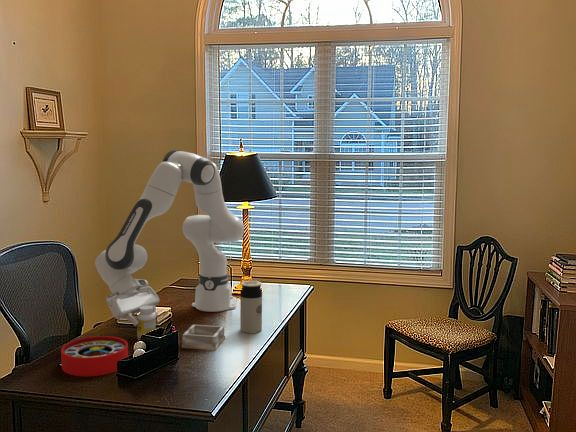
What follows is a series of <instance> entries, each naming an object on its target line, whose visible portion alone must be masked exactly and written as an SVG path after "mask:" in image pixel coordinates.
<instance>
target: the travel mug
mask: <svg viewBox="0 0 576 432" xmlns="http://www.w3.org/2000/svg"><path fill="white" fill-rule="evenodd" d="M240 284H241V287H242V288H241V289H240V319H239V320H240V331H241V332H243V333H246V334H256V333H259V332H261V331H262V328H263V290H262V288H261V286H262V282H261V281H259V280H244V281H242V282H241V283H240Z"/></svg>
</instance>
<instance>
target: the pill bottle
mask: <svg viewBox="0 0 576 432" xmlns="http://www.w3.org/2000/svg"><path fill="white" fill-rule="evenodd" d="M139 311H140V312H139V313H137V316H136V319H137V318H138V320H139V321H140V323H139V324H138V325H136V336H137V337H136V338H137V341H139V340H140V339H141V336H142V335H143V334H145V333H148V332H150V331H152V330H155V329H157V325H156V324H157V323H156V322H157V321H156V319H157V318H156V316H155V314H154V313H152V311H153V307H152V306H141V307H139Z"/></svg>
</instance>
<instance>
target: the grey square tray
mask: <svg viewBox="0 0 576 432" xmlns="http://www.w3.org/2000/svg"><path fill="white" fill-rule="evenodd" d="M225 339H226V335H225V326H222V325H209V324H208V325H205V324H192V325H191V326H190V327H189V328H188V329H187V330H186V331H184V333H183V334H182V344H181V348H182V349H191V350H192V349H193V350H195V349H196V350H209V351H217V349H219V347H220V345H222V344H223V342H224V341H225Z"/></svg>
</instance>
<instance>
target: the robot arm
mask: <svg viewBox="0 0 576 432" xmlns="http://www.w3.org/2000/svg"><path fill="white" fill-rule="evenodd" d="M182 182H184V183H185V182H186V183H189V184H193V190H194V191H193V192H194V198H195V205H196V207H197V208H198V210H199V211H201V212H202V213H204V214H195V215H190V216H187V217H186V218H185V219H184V221H183V223H182V226H181V227H182V232H183V235H184V237H185V238H186V239H187V240H188V241H189V242H190V243H191V244H192V245H193V246H194V247H195V249H196V251H197V254H198V259H199V260H198V261H199V274H198V285H197V286H196V287H195V294H194V295H195V298H194V299H195V300H194V302H192V303H191V307H194V308H196V309H197V310H198V311H201V312H212V313H213V312H214V313H215V312H223V311H227V310H234V309H236V307H237V301H238V298H237V297H235V296H233V289H232V288H233V287H232V286H231V285H230V283H229V272H228V271H227V269H228V268H227V267H228V266H227V263H228V262H227V261H228V260H227V256H226V254H225V252H223V251H221V250H219V249H218V248H216V246H215V245H214V243H233V242H238V241H241V239H242V238H243V236H244V233H245V225H244V223H243V221H242V219H241V218H240V217H238V216H236V215H235V214H234V213H233V212H232V211H231V210H230V209H229V208H228V206H227V204H226V202H225V198H224V194H223V186H222V181H221V175H220V172H219V169H218V166H217V165H216V163H214V162H213V161H211V160H210V159H208V157H204V156H201V155H199V154H195V153H193V152H188V151H183V150H180V149H171V150H170V151H168V152H167V153H166V154H165V156H164V157H163V159H162V162H160V163H159V164H157V166H156V168H155V169H154V170H153V172H152V174H151V176H150V177H149V179H148V181H147V184H146V186H145V188H144V190H143V192H142V194H141V196H140V198H139V199H138V201H137V202H136V203H135V204H134V205H133V207H132V209H131V210H130V212H129V215H128V216H127V218H126V220H125V222H124V223H123V225H122V227H121V229H120V231H119V232H118V234H117V236H116V237H115V238H114V239H113V240H111V242H110V243H109V244H108V245H107V247H106V249H104V250H103V251H101V252H100V253H99V254H98V255H97V257H96V258H95V260H94V265H95V268H96V270H97V273H98V274H99V276H100V278H101V279H102V281H104V283H106V284H107V286H108V289H109V290H110V293H111V294H108V295H107V296H106V297H105V301H106V303H107V305H108V307H109V309H110V311H111V313H112V315H113V317H114V318H115V319H117V320H120V319H121V320H122V319H123V318H125V319H126V320H127V321H129V322H130V323H132V324H133V326H135V327H137V325H138V324H139V323H140V321H139V320H138V318H137V317H136V318H135V316H133V315H134V314H139V313H140V311H139V307H141V306H152V307H153V311H152V313H154V314H155V316H156V319H157V318H158V317H159V313H158V312H157V309H156V307H157V305H158V304H159V303H160V297H159V295H158V294H157V293H156V291H155V290H154V289H153V288H152V287H151V286H150V285H149V282H148V280H146V279H141V278H139V279H138V278H134V277H133V276H132V275H133V274H134V273H136V272H137V271H140V270H141V269H143V268H144V267H145V265H147V262H148V260H149V256H148V252H147V251H148V250H147V249H146V248H145V247H144V246H142V245H139V244H136V242H137V240H138V237H140V234H141V232H142V230H143V228H144V227H145V225H146V224H147V222H148V221H149V220H151V219H153V218H156V217H158V216H161V215H163V214H166V213H167V212H168V211H169V209H170V208H171V207H172V205H173V203H174V201H175V198H176V197H177V194H178V191H179V188H180V185H181V183H182Z"/></svg>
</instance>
